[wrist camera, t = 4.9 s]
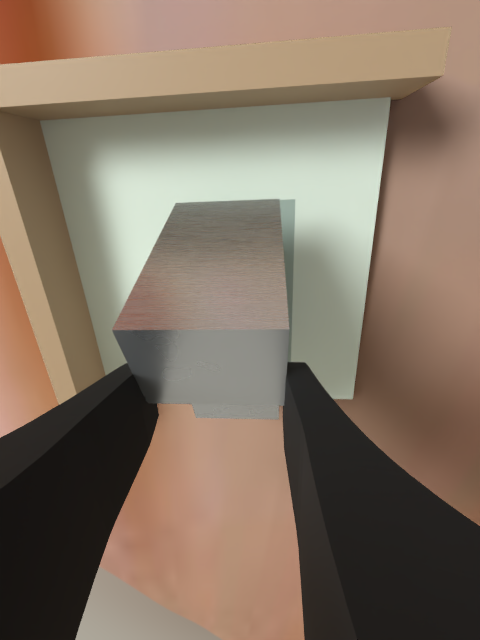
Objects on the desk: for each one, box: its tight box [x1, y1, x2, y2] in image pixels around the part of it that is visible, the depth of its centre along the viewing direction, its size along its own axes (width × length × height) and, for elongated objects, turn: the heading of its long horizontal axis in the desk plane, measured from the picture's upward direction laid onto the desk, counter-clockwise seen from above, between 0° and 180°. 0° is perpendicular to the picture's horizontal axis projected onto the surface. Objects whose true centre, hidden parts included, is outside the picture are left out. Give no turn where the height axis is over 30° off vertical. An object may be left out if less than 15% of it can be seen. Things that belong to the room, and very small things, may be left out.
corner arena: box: [0, 27, 452, 405], centre depth 15 cm, size 17×16×4 cm
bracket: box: [112, 199, 289, 419], centre depth 13 cm, size 9×4×7 cm, turn 2°
